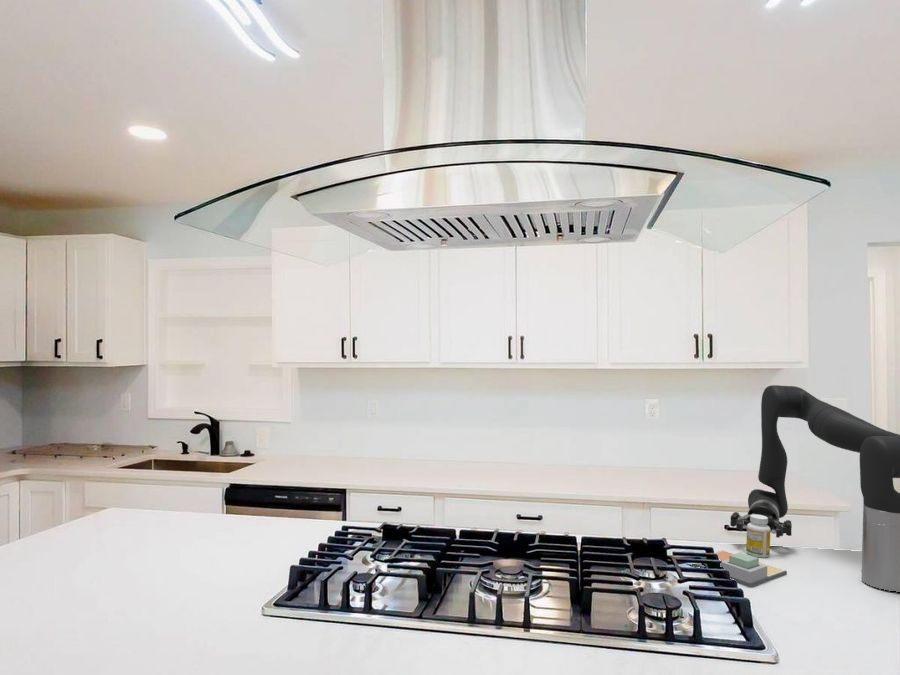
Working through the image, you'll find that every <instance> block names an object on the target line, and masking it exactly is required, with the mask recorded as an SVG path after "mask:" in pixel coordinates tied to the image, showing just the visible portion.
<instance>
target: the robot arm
mask: <svg viewBox="0 0 900 675" xmlns="http://www.w3.org/2000/svg"><path fill="white" fill-rule="evenodd" d="M760 406H761V407H760V408H761V410H760V413H761V414H760V416H761V417H760V419H761V422H760V423H761V452H760V453H761V454H760V463H759V469H758V476H757V479H758V481H759V482H760V483H761V484H763V485H765V486H766V487H770V488H771V489H772V490H773V491H774V492H773V491H768V490H764V489H761V488H760V489H759V488H757V489H753V490H751V491H750V493H749V495H748V498H747V503H748V504H747V505H748V508H749V509H748V511H747V514H744V515H743V516H742V515H741V513H739V512H737V511H735V512H733V513H732V514H731V515H730V526H731V527H733V528H734V527H735V529H736V530H738V532H743V529H745V530H747V525H748V524H749V523H751V521H750V515H753V514H756V515H763V516H766V517H767V518H768V523H767V525H768V526H769V527H770V530H771V531H770V534H775V538H776V539H777V538H780V537H783V536H784V534H785V535H786V536H789V537H790V536H792V526H793V525H792V520H789V519H786V520H784V521H783V522H782V521H780V519H782V518H784V517H785V516H786V515H787V513H788V508H789V507H788V506H789V505H788V499H787V495H786V484H785V483H786V476H787V469H788V455H787V452H786V449H785V446H784V445H783V443H782V440H781V438H780V436H779V433H778V432H779V431H778V421H779V418H791V419H793V418H794V419H800V420H803V421H805V422H807V427H808V429H809V431H810V432H811V433H812V435H814V436H815V437H817V438H818V439H819V440H822V441H824V442H825V443H827V444H829V445H830V446H833V447H836V448H838V449H842V450H846V451H850V452H855V453H859V476H860V477H859V478H860V479H859V480H860V481H859V482H860V483H859V484H860V485H859V486H860V491H861V494H862V499H863V500H862V501H863V505H862V509H863V510H862V536H861V537H862V542H861V544H862V545H861V547H862V548H861V549H862V550H861V569H860V570H861V571H860V572H861V573H860V574H861V579H862V580H861V581H862V583H864V584H865V583H866V584H865V585H867V584H868V585H867V586H869V585H870V587H872V586H873V587H872V588H874V587H876V588H875V589H877V588H879V590H881V589H884V590H883V591H885V590H889V591H888V592H890V591H896V592H895V593H897V592H900V492H898V491H897V490H896V489H895V487H894V479H900V434H899V433H898V434H897V433H895V432H892V431H889V430H886V429H883V428H880V427H878V426H876V425H874V424H872V423H870V422H868V421H866V420H864V419H862V418H860V417H858V416H855V415H853V414H852V413H850V412H848V411H846V410H843V409H842V408H839V407H837V406H835V405H832V404H831V403H828V402H826V401H823V400H820V398H819V399H818V398H817V397H816V396H814V395H812V394H811V393H810V392H808V391H806V390H805V389H803V388H801V387H799V386H794V385H777V384H776V385H775V384H773V385H768V386H767V387H765V389H764V390H763V392H762V395H761V403H760Z"/></svg>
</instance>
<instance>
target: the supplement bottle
mask: <svg viewBox="0 0 900 675" xmlns="http://www.w3.org/2000/svg"><path fill="white" fill-rule="evenodd" d="M750 521H751V523H749V524H748V525H747V529H746V545H745V546H746V547H745V548H746V549H745V550H746V554H747V555H750V556H754V557H757V558H759V559H761V558H769V556H770V554H771V553H770V552H771V532H770V531H771V530H770V527H769V526H768V525H767V523H768V518H767V517H766V516H763V515H756V514H753V515H750Z"/></svg>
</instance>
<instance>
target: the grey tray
mask: <svg viewBox="0 0 900 675" xmlns="http://www.w3.org/2000/svg"><path fill="white" fill-rule="evenodd" d="M714 553H716V554H717V555H718V557H719V559H720V560H721V561H722V562H721V563H720V567H723V568H724V569H725V570H727V571H729V573H730V578H731V579H734V580H736V581H737V582H736V583H737V584H740V585H743V586H746V587H749V588H754V587H756V586H760V585H762V584H765V583H767V582H770V581H774V580H775V579H779V578H781V577H784V576H786V575H788V574H787V573H788V571H787V570H785V569H781V568H779V567H776V566H773V565H769V564H766V563H763V562H759V566H758V567H755V568H752V569H749V570H748V569H745V568H742V567H739V566H736V565H733V564H730V563H729V556H730V555H733V554H734V553H732V552H729V551H727V550H718V551H715V552H714ZM693 566H694V567H693ZM691 567H693V568H696V567H700V568H704V567H705V566H704V565H702V564H692V566H691Z"/></svg>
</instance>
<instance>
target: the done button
mask: <svg viewBox="0 0 900 675" xmlns="http://www.w3.org/2000/svg"><path fill="white" fill-rule="evenodd" d="M759 560H760V557H754V556H751V555H749V554H748V553H743V552H740V551H739V552H736V553H733V555H730V556H729V563H730V564H733V565H736V566H739V567H742V568H745V569H748V570H749V569H752V568H755V567H758V566H759Z"/></svg>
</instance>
